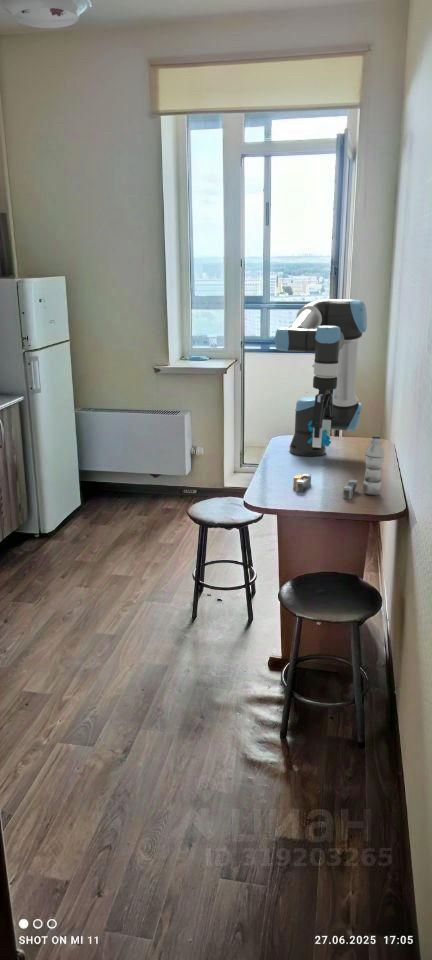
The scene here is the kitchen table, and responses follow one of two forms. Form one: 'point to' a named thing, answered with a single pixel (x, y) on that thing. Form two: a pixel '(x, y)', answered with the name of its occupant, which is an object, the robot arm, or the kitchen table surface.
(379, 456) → the plastic bottle
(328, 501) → the kitchen table surface
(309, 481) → the support blocks
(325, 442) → the gear
